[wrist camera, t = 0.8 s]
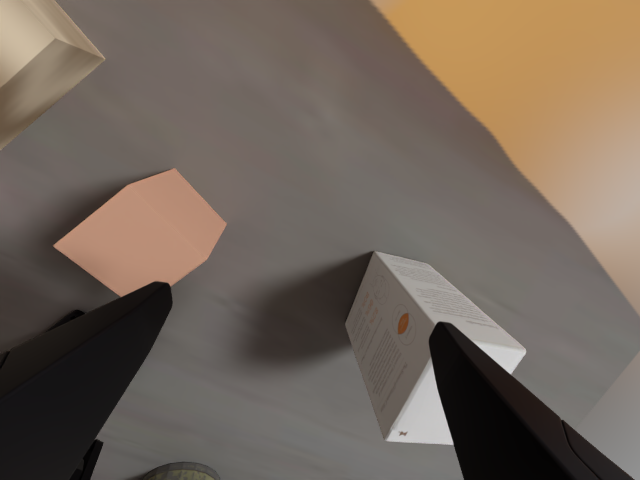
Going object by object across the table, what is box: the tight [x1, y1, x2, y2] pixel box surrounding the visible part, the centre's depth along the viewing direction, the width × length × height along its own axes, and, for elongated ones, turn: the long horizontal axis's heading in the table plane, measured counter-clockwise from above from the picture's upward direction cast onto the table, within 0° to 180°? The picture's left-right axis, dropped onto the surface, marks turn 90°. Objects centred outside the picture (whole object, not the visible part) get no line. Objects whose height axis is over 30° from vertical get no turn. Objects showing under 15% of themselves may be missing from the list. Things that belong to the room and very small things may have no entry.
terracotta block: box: [53, 168, 227, 297], centre depth 16 cm, size 5×5×6 cm
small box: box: [345, 251, 526, 445], centre depth 19 cm, size 8×6×10 cm
